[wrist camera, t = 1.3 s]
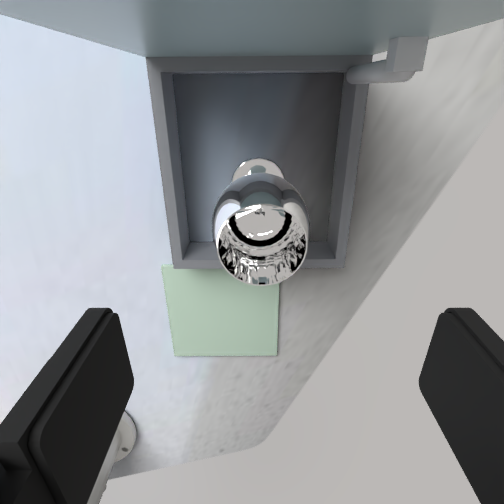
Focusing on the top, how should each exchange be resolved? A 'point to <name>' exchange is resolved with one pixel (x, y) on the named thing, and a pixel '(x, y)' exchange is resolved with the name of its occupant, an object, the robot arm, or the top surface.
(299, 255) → the wineglass
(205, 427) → the top surface
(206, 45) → the case
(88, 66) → the top surface
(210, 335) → the mat
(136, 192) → the top surface
